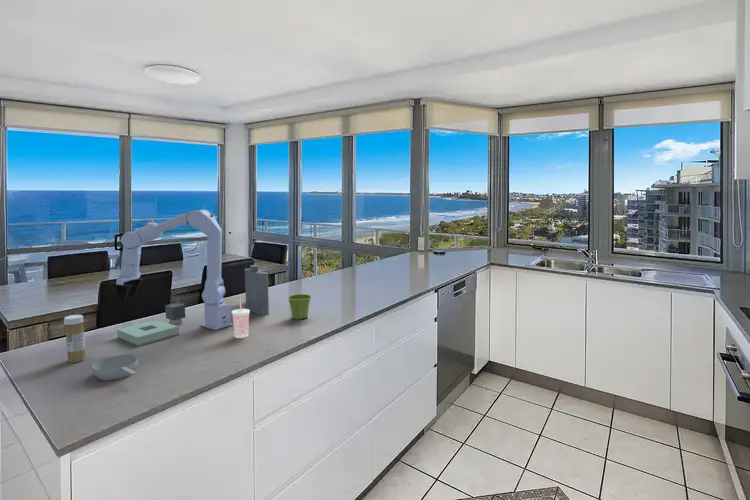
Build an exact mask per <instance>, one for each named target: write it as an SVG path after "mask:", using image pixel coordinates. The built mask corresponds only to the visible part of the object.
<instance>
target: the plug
mask: <svg viewBox="0 0 750 500" xmlns="http://www.w3.org/2000/svg"><path fill="white" fill-rule="evenodd" d="M164 308H165V310H164V311H165V319H167V320H169V324H173V325H178V324H181V323H183V320H182V319H184V318H186V305H185V304H182V303H179V302H176V303H172V304H171V303H170V304H167V305H165V306H164Z"/></svg>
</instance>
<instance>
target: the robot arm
mask: <svg viewBox="0 0 750 500" xmlns="http://www.w3.org/2000/svg"><path fill="white" fill-rule="evenodd" d="M182 225H184V226H191V227H192V228H193V229H197V230H200V231H201V233H203V234H204V235H205V236H206V239H207V240H206V247H207V248H206V279H205V282H204V289H203V291H202V293H201V298H202V301H203V303H204V304H203V305H204V306H203V307H204V322H203V323H200V325H199V326H200V327H204V328H208V329H210V330H214V331H216V330H219V329H223V328H227V327H231V326H234V324H233V323H232V311H231V307H230V306H229V305H227V304H226V301H225V298H224V296H225V295H226V293H227V292H226V287H225V285H224V279H223V278H222V265H223V264H222V263H223V262H222V258H223V257H222V253H223V251H222V250H223V247H222V246H223V245H222V244H223V230H222V227H220V225H219V223H218V221H217V219H216V216H215V214H213V213H212V212H211V211H210V210H207V209H203V208H202V209H200V210H199V209H193V210H191V211H188V212H183V213H181V214H178V215H176V216H174V217H171V218H170V219H167V220H165V221H163V222H160V223H157V222H151V221H150V222H147V223H145V225H144V226H142V227H139V228H138V227H135V228H134V229H133V231H127V232H125V233H124V234H123V235H122V236H121V238H120V243H121V245H122V255H121V264H120V265H121V266H120V273H117V274H116V277H118V278H116V282H113V283H112V286H113V288H114V290H115V292H116V297H117V302H118V303H121V304H125V303H126V302H127V298H134V299H135V298H136V296H137V292H138V290H139V287H140V286H141V284H142V282H144V278H141V275H142V274H141V271H140V262H141V255H142V246H144V244H148V243H149V242H152V241H154V240H157V239H159V238H161V237H162V236H163V234H164V232H166V231H168V230H172V229H174V228H177V227H179V226H182Z"/></svg>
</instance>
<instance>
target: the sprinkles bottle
mask: <svg viewBox="0 0 750 500" xmlns="http://www.w3.org/2000/svg"><path fill="white" fill-rule="evenodd" d="M63 323H64V326H65V327H64V328H65V340H66V351H67V362H68V363H79V362H81V361H84V360H86V359H87V355H86V342H85V341H86V340H85V330H84V316H83V314H72V315H68V316H65V317H63Z"/></svg>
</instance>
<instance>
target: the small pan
mask: <svg viewBox="0 0 750 500" xmlns="http://www.w3.org/2000/svg"><path fill="white" fill-rule="evenodd" d="M138 364H139V357H138V356H137V355H135V354H117V355H112V356H108V357H104V358H101V359H99V360H97V361H96V362H93V363H92V365H91V369H92V373H93V375H94V376H95V377H96V378H97V379H98V378H99V379H98V380H100V379H101V380H100V381H112V380H111V379H116V380H119V379H118V378H120V379H123V378H122V377H124V378H126V377H125V376H127V377H128V375H129V376H136V375H137V374H138V372H137V371H136V369H137V367H138ZM130 374H131V375H130Z"/></svg>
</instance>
